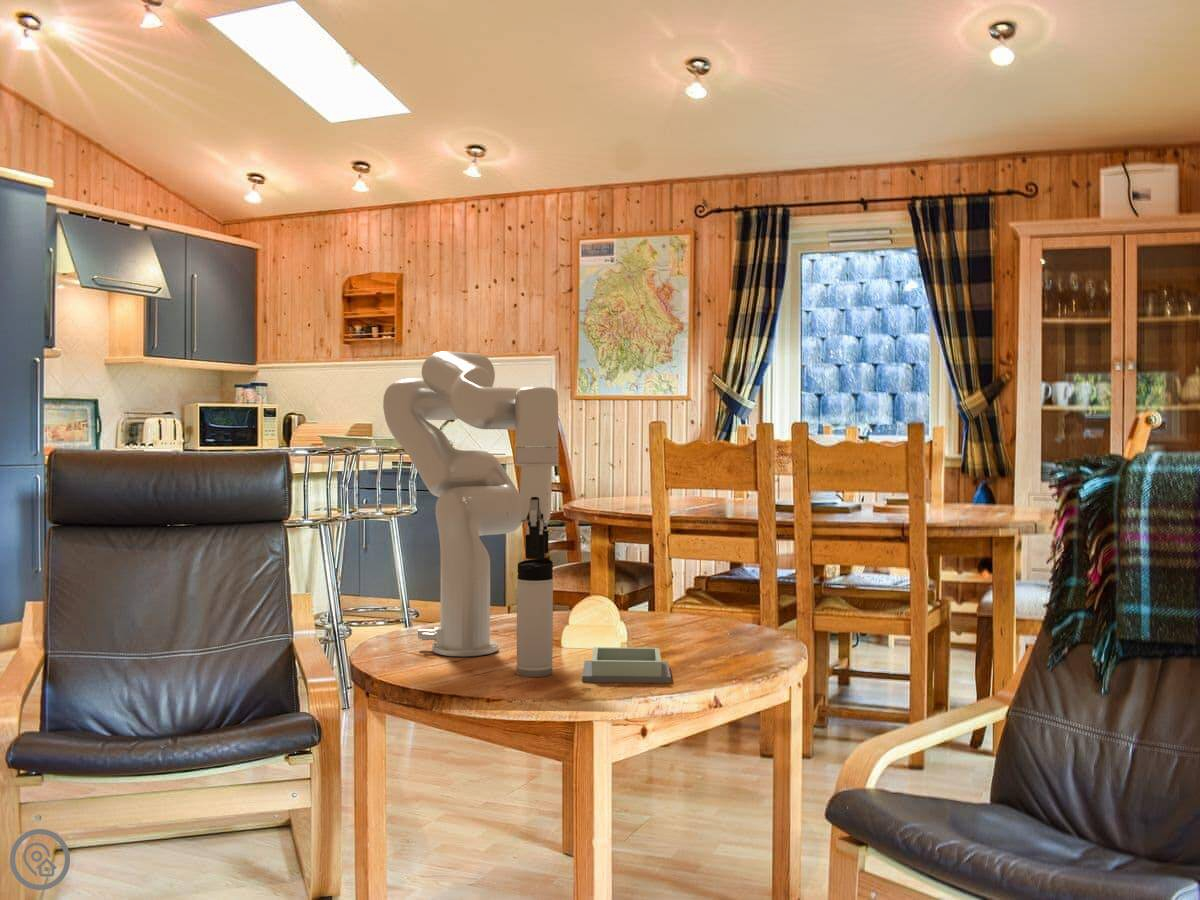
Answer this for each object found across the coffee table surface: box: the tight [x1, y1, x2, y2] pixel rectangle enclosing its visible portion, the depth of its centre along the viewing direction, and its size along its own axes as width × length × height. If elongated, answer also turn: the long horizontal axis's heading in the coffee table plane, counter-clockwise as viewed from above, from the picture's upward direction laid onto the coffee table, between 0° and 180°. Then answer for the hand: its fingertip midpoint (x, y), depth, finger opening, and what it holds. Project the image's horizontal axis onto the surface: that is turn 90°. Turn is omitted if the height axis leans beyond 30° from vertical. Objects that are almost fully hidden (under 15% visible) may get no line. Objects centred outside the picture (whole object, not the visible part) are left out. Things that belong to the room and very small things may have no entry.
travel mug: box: [516, 557, 554, 678], centre depth 187 cm, size 6×7×20 cm
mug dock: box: [581, 646, 672, 684], centre depth 187 cm, size 15×12×4 cm
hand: (537, 555), depth 187 cm, fingers open, 9 cm apart
